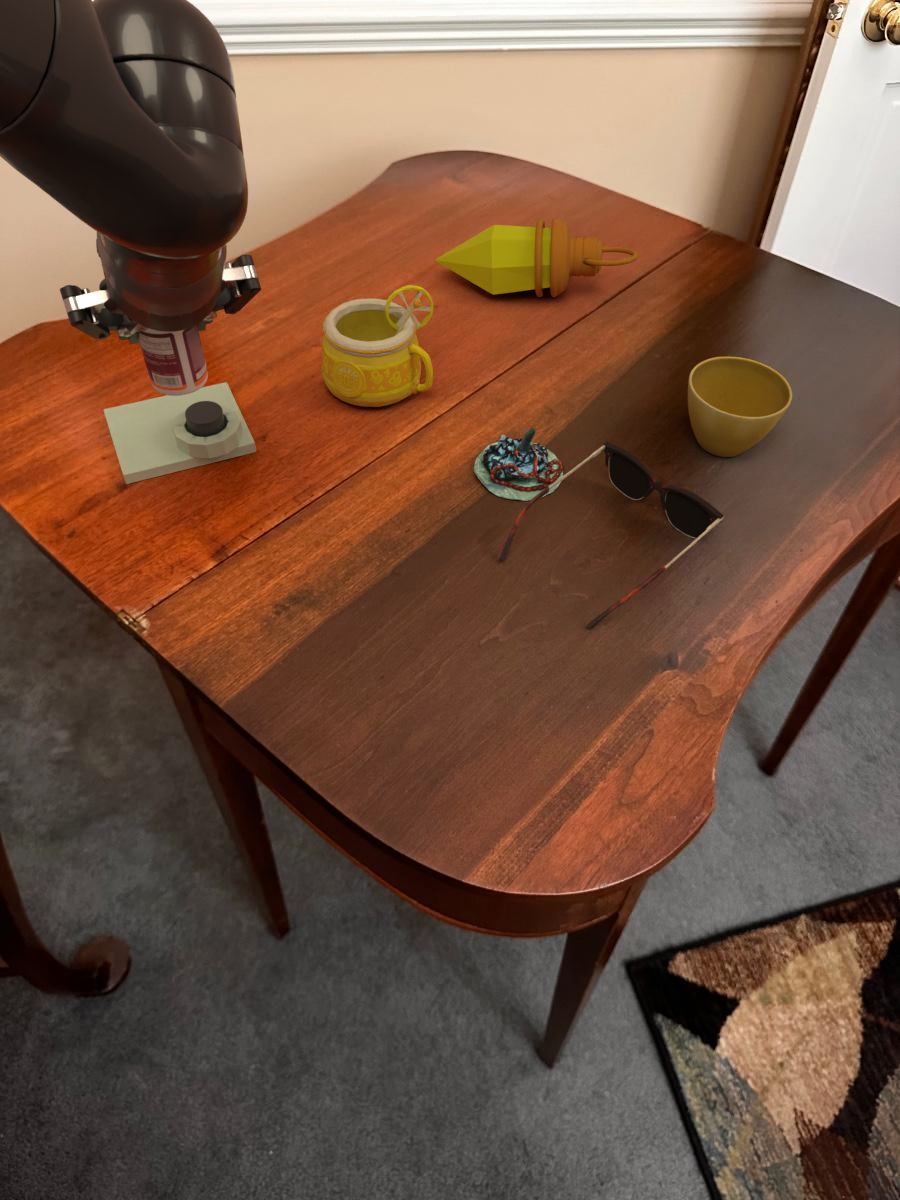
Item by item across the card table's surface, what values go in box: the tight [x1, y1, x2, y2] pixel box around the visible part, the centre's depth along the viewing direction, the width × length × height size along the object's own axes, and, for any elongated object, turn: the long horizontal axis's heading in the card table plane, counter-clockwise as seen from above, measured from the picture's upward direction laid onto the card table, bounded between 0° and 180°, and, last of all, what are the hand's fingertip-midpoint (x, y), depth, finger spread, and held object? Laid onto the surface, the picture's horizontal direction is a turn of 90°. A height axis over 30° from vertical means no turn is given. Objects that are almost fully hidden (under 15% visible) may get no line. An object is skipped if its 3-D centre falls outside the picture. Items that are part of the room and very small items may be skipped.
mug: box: [321, 284, 435, 408], centre depth 91 cm, size 13×11×12 cm
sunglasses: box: [499, 441, 725, 630], centre depth 79 cm, size 14×16×5 cm
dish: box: [473, 427, 564, 502], centre depth 87 cm, size 8×7×8 cm
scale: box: [102, 381, 257, 485], centre depth 88 cm, size 13×12×3 cm
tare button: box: [185, 401, 225, 437], centre depth 86 cm, size 4×4×2 cm
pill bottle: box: [138, 325, 209, 396], centre depth 70 cm, size 5×5×8 cm
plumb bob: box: [434, 216, 639, 298], centre depth 107 cm, size 9×9×25 cm
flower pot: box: [687, 356, 793, 458], centre depth 89 cm, size 10×10×7 cm
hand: (164, 324), depth 71 cm, fingers closed on pill bottle, 4 cm apart
